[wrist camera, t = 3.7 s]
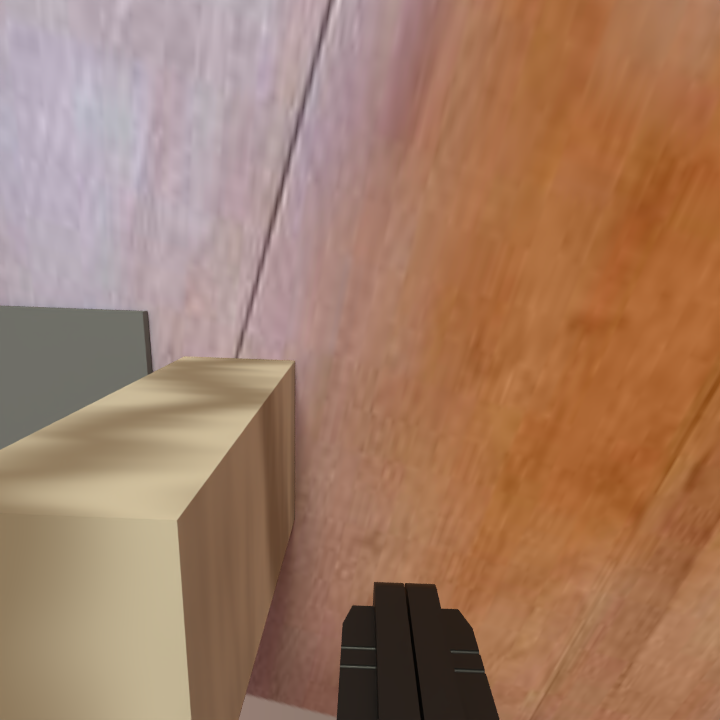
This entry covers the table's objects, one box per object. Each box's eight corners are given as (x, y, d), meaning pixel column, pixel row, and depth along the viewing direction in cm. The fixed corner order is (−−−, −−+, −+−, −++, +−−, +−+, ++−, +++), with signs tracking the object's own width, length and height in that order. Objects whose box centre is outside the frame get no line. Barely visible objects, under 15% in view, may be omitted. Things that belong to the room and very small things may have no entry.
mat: (147, 311, 18) (142, 312, 18) (166, 548, 21) (162, 554, 21) (-168, 299, 18) (-180, 300, 18) (-110, 537, 21) (-119, 543, 21)
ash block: (294, 360, 19) (176, 520, 7) (294, 518, 21) (200, 853, 9) (184, 356, 19) (-116, 508, 7) (194, 514, 21) (-33, 843, 9)
